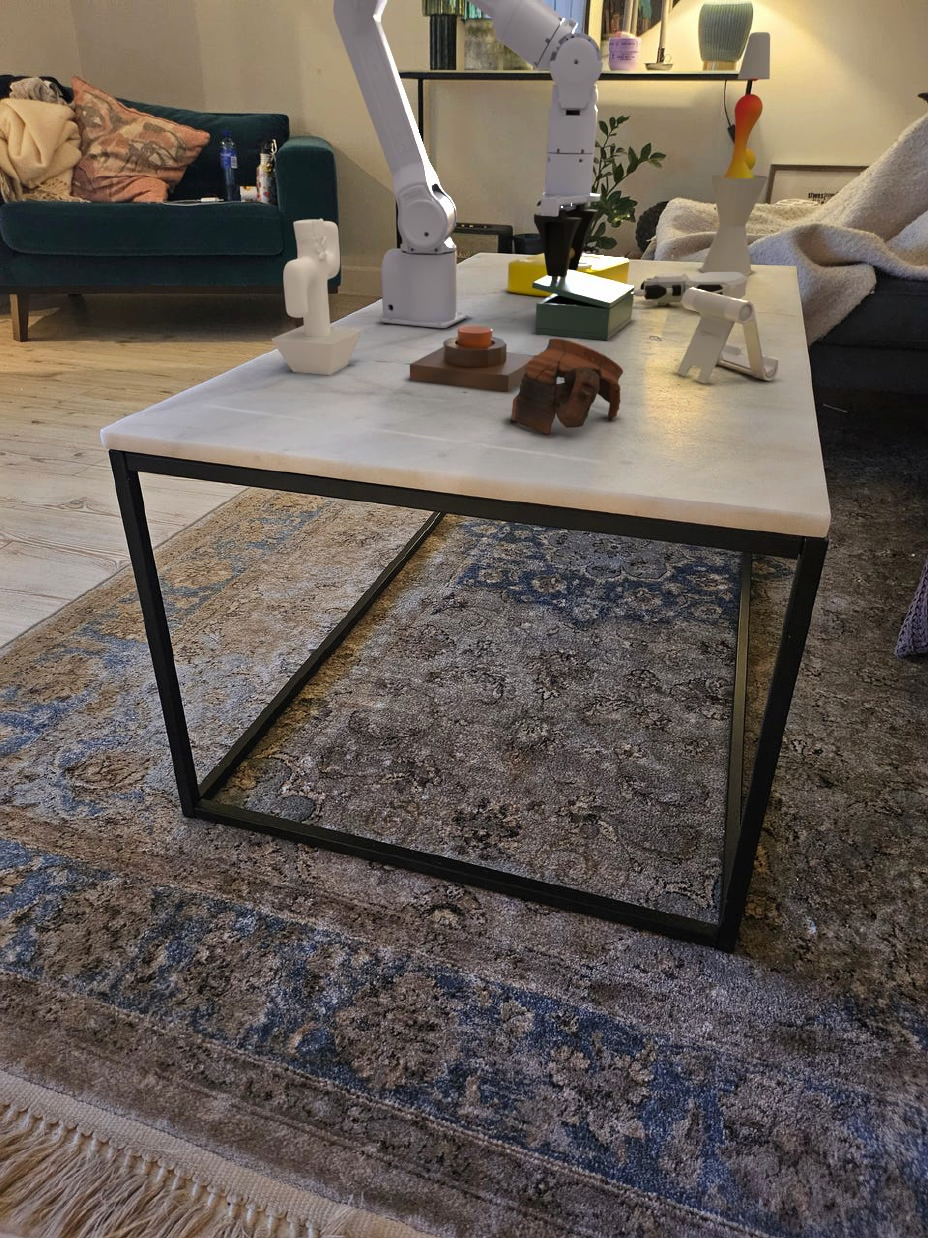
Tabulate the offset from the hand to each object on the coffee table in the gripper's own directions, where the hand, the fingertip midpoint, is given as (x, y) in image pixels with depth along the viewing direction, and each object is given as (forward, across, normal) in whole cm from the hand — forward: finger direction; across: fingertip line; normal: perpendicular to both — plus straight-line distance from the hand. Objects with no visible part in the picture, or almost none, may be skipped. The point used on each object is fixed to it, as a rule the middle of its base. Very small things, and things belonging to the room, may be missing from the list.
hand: (562, 272), depth 113 cm
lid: (+2, 0, -3) cm, 4 cm away
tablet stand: (+6, -17, -23) cm, 30 cm away
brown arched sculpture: (+7, -40, -13) cm, 43 cm away
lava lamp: (+6, +54, -14) cm, 56 cm away
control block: (+6, -28, +1) cm, 29 cm away
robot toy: (+6, +20, -14) cm, 25 cm away
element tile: (+7, +25, +6) cm, 27 cm away
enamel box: (+6, 0, -4) cm, 7 cm away
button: (+3, -28, +1) cm, 28 cm away
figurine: (+7, -32, +17) cm, 37 cm away
